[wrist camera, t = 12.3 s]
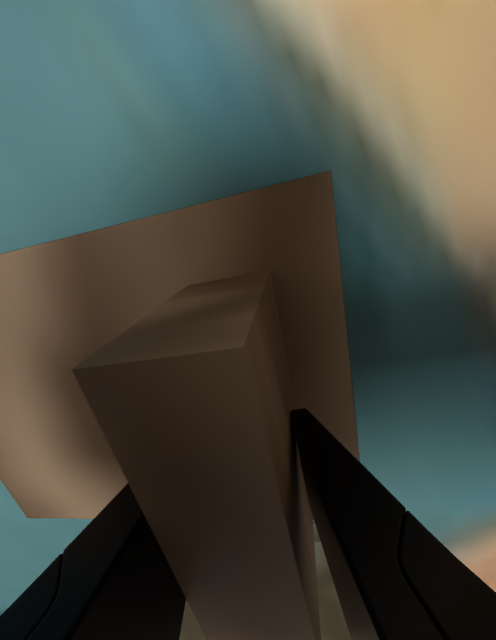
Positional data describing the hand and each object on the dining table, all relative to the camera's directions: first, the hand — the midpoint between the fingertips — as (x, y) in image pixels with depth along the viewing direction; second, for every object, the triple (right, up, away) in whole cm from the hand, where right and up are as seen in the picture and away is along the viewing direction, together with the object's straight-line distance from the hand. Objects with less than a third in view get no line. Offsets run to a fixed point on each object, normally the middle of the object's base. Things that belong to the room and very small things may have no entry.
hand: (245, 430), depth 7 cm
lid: (-4, +1, +4) cm, 6 cm away
